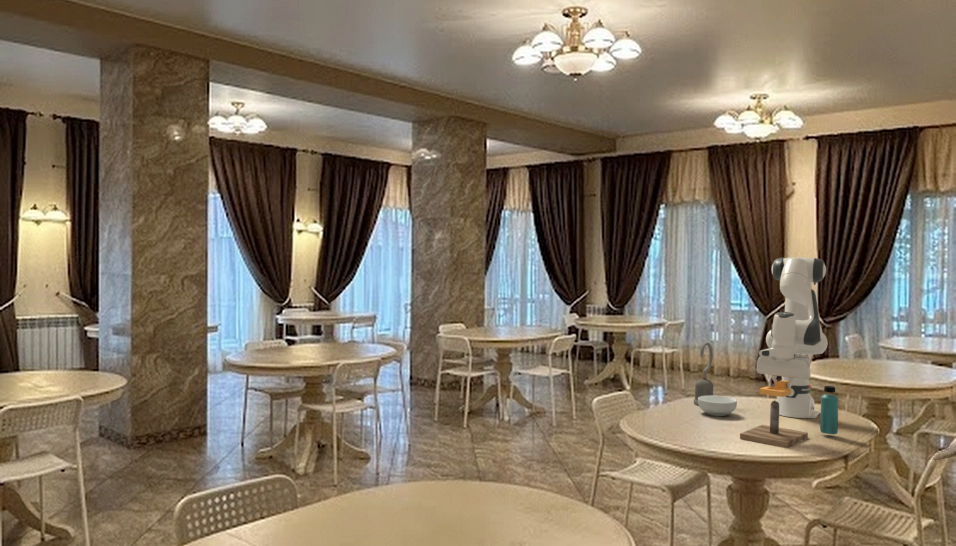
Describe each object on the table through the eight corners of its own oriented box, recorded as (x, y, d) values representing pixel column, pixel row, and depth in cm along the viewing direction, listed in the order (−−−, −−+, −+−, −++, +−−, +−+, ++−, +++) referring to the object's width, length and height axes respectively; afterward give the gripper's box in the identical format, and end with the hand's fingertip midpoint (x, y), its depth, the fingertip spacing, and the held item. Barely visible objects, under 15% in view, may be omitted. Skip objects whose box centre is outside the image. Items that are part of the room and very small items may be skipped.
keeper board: (762, 429, 296) (763, 394, 296) (807, 437, 284) (808, 400, 284) (739, 438, 280) (740, 401, 280) (787, 447, 268) (788, 408, 268)
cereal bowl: (697, 409, 335) (697, 394, 335) (735, 411, 330) (735, 396, 330) (698, 416, 318) (698, 400, 318) (737, 419, 314) (738, 403, 314)
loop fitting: (773, 389, 292) (774, 379, 292) (796, 392, 286) (796, 382, 286) (759, 393, 282) (759, 383, 281) (782, 397, 275) (782, 386, 275)
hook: (719, 404, 347) (721, 342, 347) (708, 407, 339) (710, 344, 338) (701, 401, 354) (702, 340, 353) (689, 404, 345) (690, 342, 345)
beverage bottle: (839, 438, 283) (841, 388, 283) (821, 437, 285) (823, 387, 284) (835, 434, 290) (836, 385, 289) (817, 433, 291) (818, 384, 291)
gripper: (813, 355, 282) (812, 390, 282) (761, 349, 296) (760, 383, 296) (807, 356, 278) (806, 392, 278) (755, 351, 291) (754, 384, 292)
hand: (782, 387), depth 287 cm, fingers closed on loop fitting, 3 cm apart
